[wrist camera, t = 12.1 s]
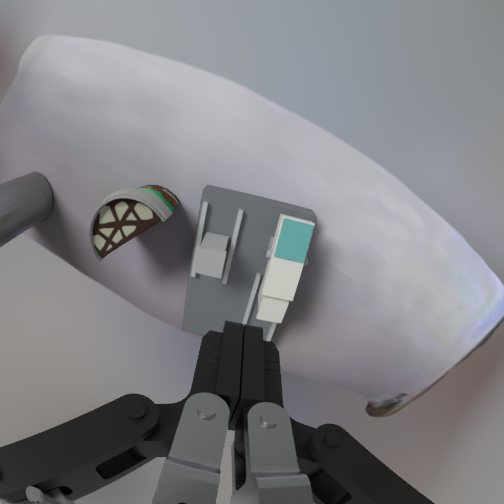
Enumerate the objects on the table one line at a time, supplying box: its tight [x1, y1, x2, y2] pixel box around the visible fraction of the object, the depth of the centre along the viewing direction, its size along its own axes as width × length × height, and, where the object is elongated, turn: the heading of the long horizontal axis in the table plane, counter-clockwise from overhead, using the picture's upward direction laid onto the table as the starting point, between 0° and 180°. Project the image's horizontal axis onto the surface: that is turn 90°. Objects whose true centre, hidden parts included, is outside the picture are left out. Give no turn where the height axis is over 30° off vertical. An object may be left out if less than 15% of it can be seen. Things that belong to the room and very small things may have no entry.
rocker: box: [261, 214, 315, 301], centre depth 33 cm, size 5×10×2 cm, turn 167°
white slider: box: [256, 277, 289, 323], centre depth 37 cm, size 3×3×6 cm
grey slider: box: [193, 232, 229, 278], centre depth 35 cm, size 3×3×6 cm
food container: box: [89, 185, 180, 263], centre depth 33 cm, size 12×6×10 cm, turn 117°
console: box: [182, 185, 316, 342], centre depth 40 cm, size 15×24×6 cm, turn 167°
